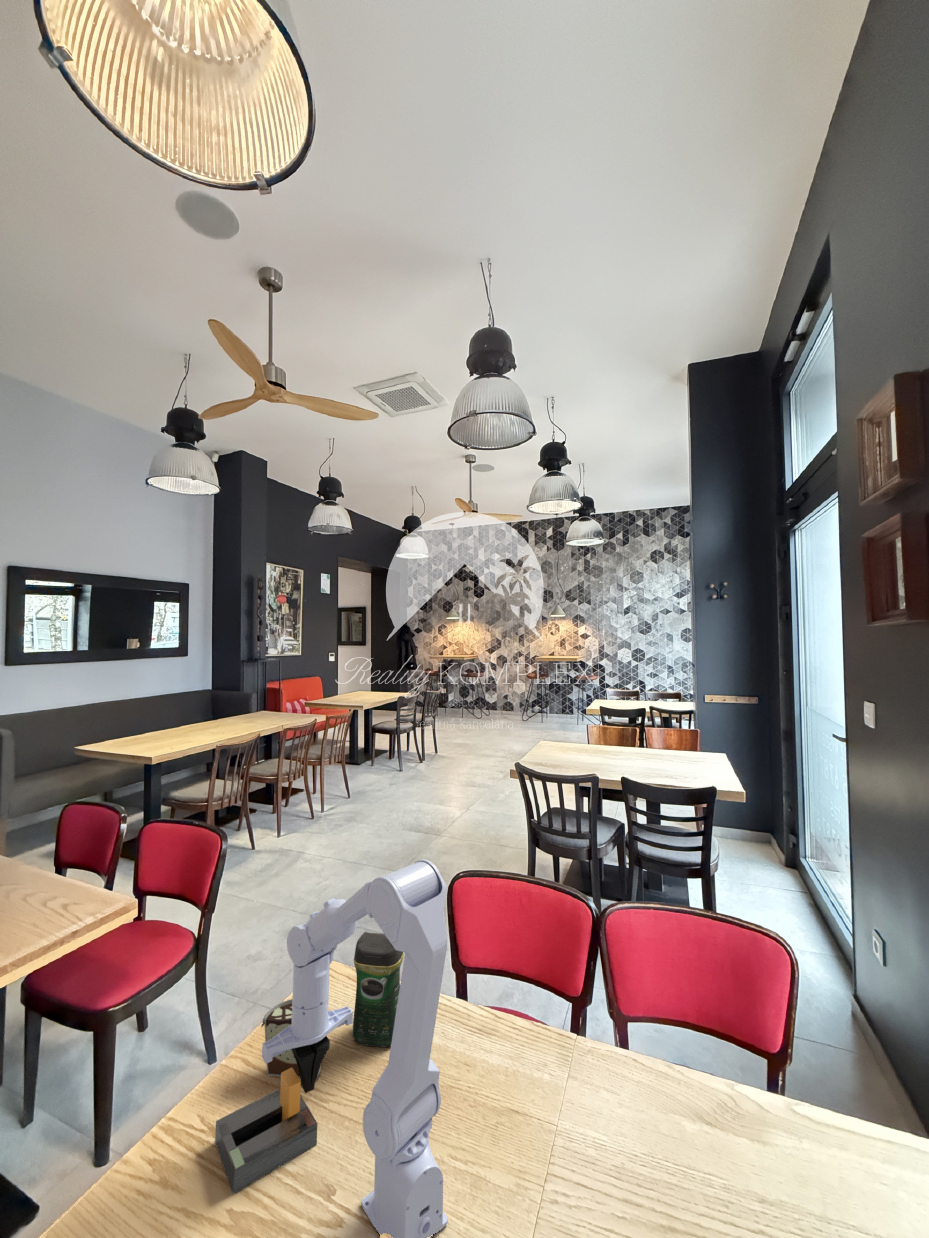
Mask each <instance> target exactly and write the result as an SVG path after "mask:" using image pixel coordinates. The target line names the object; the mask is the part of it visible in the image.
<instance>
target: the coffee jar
mask: <svg viewBox="0 0 929 1238" xmlns="http://www.w3.org/2000/svg"><path fill="white" fill-rule="evenodd" d="M404 956H405V952H402V951H397V950H395V948H394V947H393V945H392V944H391V943H390V941H389V940H388V938H387V937H386V935H385V934H384V933H380V932H379V933H378V932H368V931H365V932H363V933H362V934H361V936H360V937H359V938H358V939H357V941H356V944H355V950H354V957H353V964H354V968H355V972H356V987H355V988H356V989H355V990H356V991H355V1002H354V1009H353V1023H352V1028H351V1029H352V1034H351V1035H352V1038H353V1040H354V1041H355V1042H356V1043H358V1044H359V1045H363V1046H370V1047H383V1048H384V1047H385V1048H386V1047H391V1042H392V1036H393V1029H394V1023H395V1016H396V1010H397V1003H398V997H399V990H400V984H401V976H400V975H401V973H400V972H401V965H402V963H403V961H404Z"/></svg>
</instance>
